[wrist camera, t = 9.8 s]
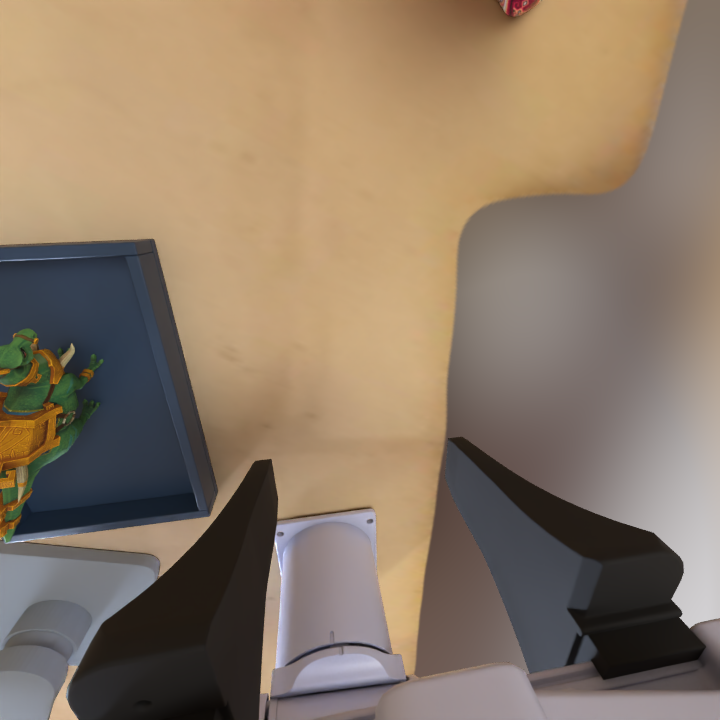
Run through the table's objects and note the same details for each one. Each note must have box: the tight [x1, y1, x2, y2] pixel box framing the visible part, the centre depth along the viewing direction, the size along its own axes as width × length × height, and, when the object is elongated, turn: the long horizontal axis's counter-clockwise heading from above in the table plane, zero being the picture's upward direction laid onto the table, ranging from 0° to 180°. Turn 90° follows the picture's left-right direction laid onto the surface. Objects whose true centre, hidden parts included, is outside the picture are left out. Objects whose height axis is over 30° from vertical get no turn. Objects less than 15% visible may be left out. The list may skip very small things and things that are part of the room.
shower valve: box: [0, 540, 160, 720], centre depth 25 cm, size 12×6×15 cm
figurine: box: [0, 329, 104, 543], centre depth 16 cm, size 3×12×8 cm, turn 157°
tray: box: [0, 239, 218, 543], centre depth 19 cm, size 17×12×2 cm
